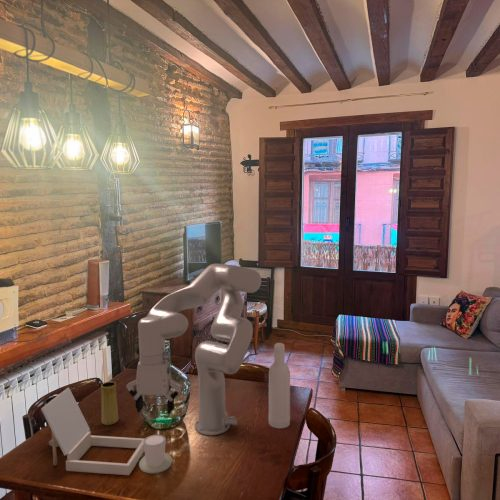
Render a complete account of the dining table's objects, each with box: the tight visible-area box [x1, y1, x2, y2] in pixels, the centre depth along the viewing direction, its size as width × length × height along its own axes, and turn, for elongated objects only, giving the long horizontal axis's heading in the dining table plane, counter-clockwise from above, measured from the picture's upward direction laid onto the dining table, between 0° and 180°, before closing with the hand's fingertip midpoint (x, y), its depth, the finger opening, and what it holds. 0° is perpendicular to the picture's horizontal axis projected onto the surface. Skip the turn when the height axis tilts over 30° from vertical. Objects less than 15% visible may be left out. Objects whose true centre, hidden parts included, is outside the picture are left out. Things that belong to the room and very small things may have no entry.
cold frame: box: [40, 387, 145, 476], centre depth 138 cm, size 27×15×20 cm, turn 83°
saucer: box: [138, 452, 173, 474], centre depth 135 cm, size 10×10×1 cm
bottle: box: [267, 342, 291, 430], centre depth 158 cm, size 8×8×30 cm
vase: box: [100, 381, 119, 426], centre depth 161 cm, size 6×6×14 cm
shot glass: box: [143, 434, 167, 467], centre depth 135 cm, size 7×7×7 cm
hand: (155, 410), depth 134 cm, fingers open, 9 cm apart
